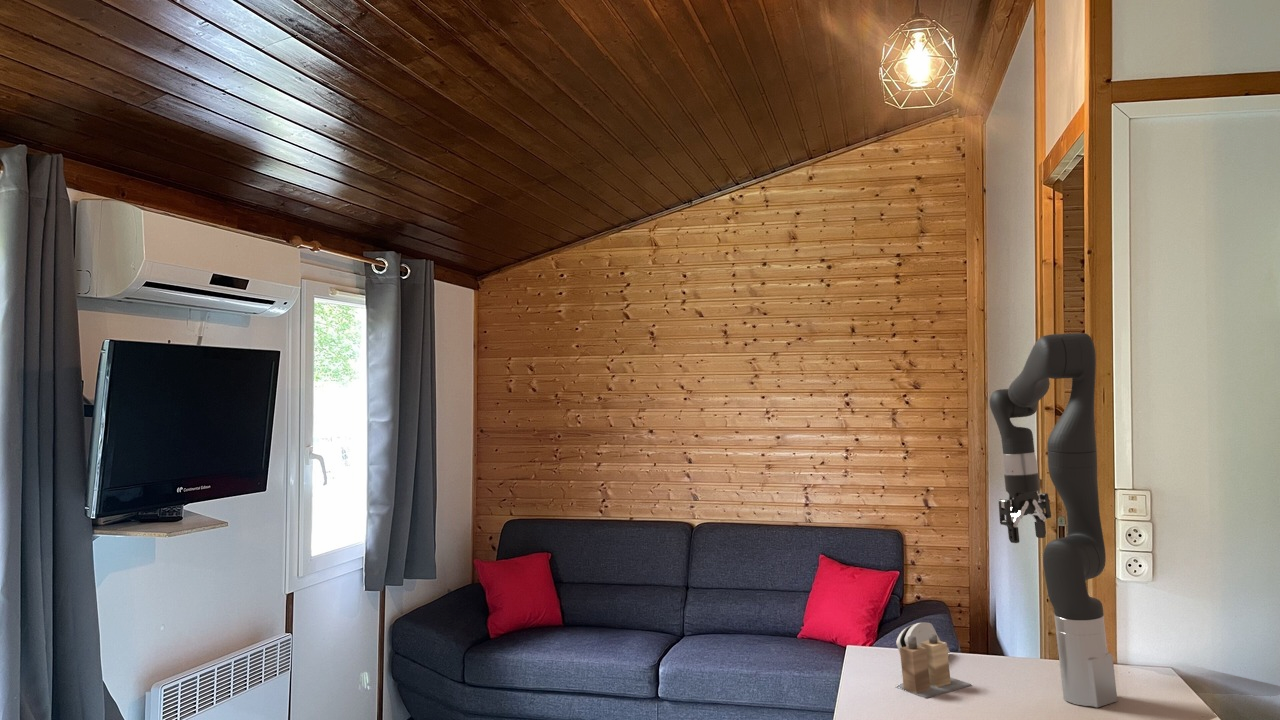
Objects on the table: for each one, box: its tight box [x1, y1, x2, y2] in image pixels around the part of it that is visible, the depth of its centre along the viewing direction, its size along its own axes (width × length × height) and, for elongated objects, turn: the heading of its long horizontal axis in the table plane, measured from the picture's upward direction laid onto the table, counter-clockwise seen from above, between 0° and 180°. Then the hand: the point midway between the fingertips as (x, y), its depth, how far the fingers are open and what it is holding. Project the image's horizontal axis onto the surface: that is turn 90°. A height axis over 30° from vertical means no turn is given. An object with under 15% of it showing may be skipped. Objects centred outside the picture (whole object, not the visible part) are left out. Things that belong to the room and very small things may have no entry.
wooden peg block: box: [920, 634, 951, 687], centre depth 203 cm, size 4×4×11 cm
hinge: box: [895, 622, 951, 657], centre depth 221 cm, size 17×5×10 cm, turn 142°
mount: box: [896, 636, 972, 699], centre depth 203 cm, size 10×13×12 cm
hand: (1028, 540), depth 215 cm, fingers open, 8 cm apart
